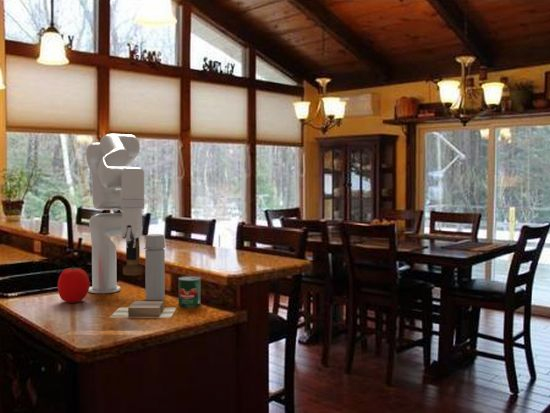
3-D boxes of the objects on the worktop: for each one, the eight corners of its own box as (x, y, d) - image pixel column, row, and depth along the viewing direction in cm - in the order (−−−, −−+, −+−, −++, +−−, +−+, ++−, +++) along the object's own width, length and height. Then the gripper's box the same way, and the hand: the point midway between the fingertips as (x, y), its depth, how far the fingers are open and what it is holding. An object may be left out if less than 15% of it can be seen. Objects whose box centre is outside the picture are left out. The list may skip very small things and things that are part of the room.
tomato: (49, 303, 207) (48, 267, 206) (74, 297, 218) (74, 263, 217) (72, 307, 202) (72, 270, 201) (97, 300, 213) (97, 265, 212)
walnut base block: (134, 309, 195) (134, 300, 194) (163, 309, 195) (163, 301, 195) (128, 316, 185) (128, 307, 184) (158, 317, 185) (158, 307, 185)
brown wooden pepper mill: (132, 276, 185) (132, 221, 184) (118, 274, 189) (118, 220, 188) (147, 273, 191) (146, 220, 190) (133, 271, 194) (132, 219, 193)
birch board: (119, 310, 197) (119, 307, 197) (176, 310, 198) (176, 307, 198) (109, 321, 183) (109, 317, 183) (170, 321, 184) (170, 317, 184)
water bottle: (169, 300, 214) (169, 235, 212) (152, 304, 208) (152, 236, 206) (154, 296, 220) (154, 233, 218) (137, 300, 214) (137, 234, 212)
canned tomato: (180, 311, 197) (180, 280, 196) (176, 306, 204) (176, 276, 204) (203, 309, 200) (203, 279, 199) (197, 305, 207) (197, 275, 207)
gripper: (127, 203, 197) (128, 255, 198) (114, 205, 180) (115, 262, 181) (149, 203, 197) (149, 255, 198) (138, 205, 180) (138, 262, 181)
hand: (133, 258), depth 189 cm, fingers closed on brown wooden pepper mill, 4 cm apart
